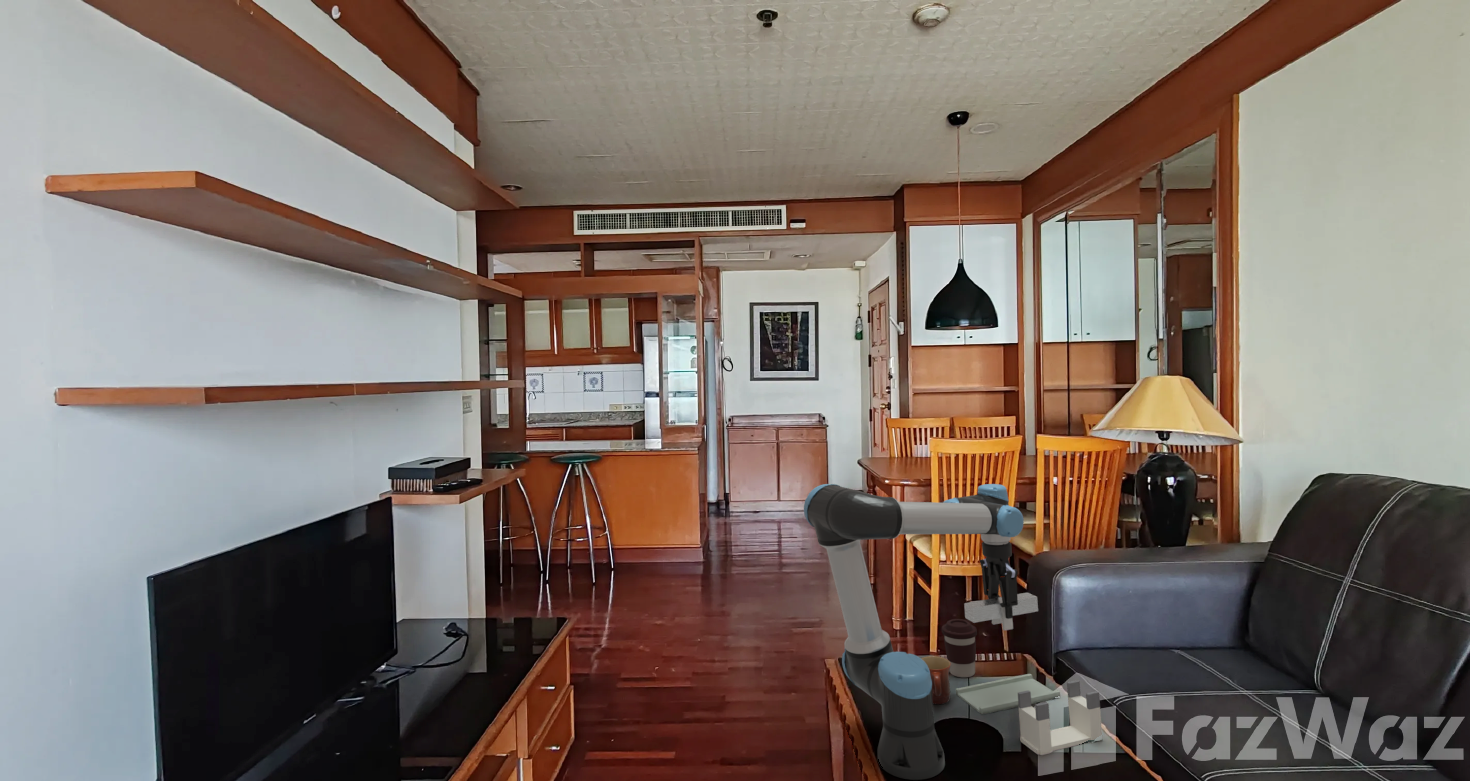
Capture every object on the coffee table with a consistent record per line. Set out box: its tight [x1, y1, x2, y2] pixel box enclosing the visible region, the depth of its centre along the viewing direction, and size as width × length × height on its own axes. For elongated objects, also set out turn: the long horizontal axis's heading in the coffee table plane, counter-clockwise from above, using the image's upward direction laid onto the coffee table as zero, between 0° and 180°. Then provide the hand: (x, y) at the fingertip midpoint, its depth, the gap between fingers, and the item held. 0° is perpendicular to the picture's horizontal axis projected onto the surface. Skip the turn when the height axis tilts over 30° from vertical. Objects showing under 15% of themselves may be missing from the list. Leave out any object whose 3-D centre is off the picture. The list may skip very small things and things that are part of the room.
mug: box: [920, 655, 951, 706], centre depth 179 cm, size 12×9×10 cm
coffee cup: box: [941, 618, 978, 678], centre depth 196 cm, size 10×10×15 cm
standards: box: [1018, 679, 1103, 756], centre depth 157 cm, size 18×7×12 cm, turn 104°
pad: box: [955, 673, 1061, 715], centre depth 180 cm, size 24×12×2 cm, turn 104°
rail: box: [963, 592, 1039, 624], centre depth 180 cm, size 20×4×4 cm, turn 104°
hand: (1002, 625), depth 180 cm, fingers closed on rail, 4 cm apart
